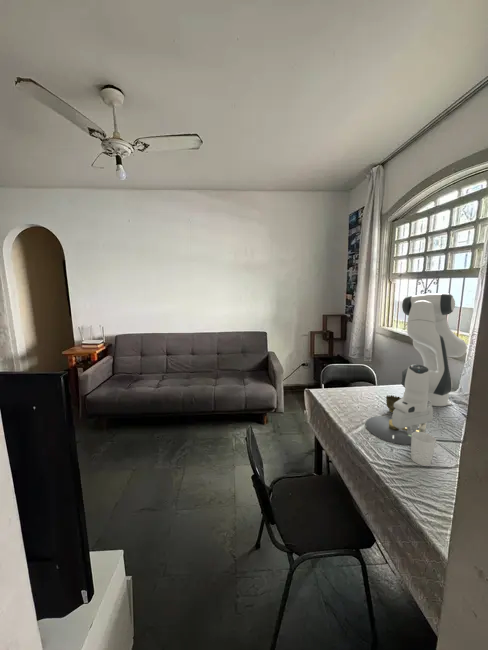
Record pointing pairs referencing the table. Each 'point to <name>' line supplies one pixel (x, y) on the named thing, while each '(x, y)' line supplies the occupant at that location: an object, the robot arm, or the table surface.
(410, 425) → the robot arm
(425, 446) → the white cup
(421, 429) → the needle
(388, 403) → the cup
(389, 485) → the table surface
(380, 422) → the dial
